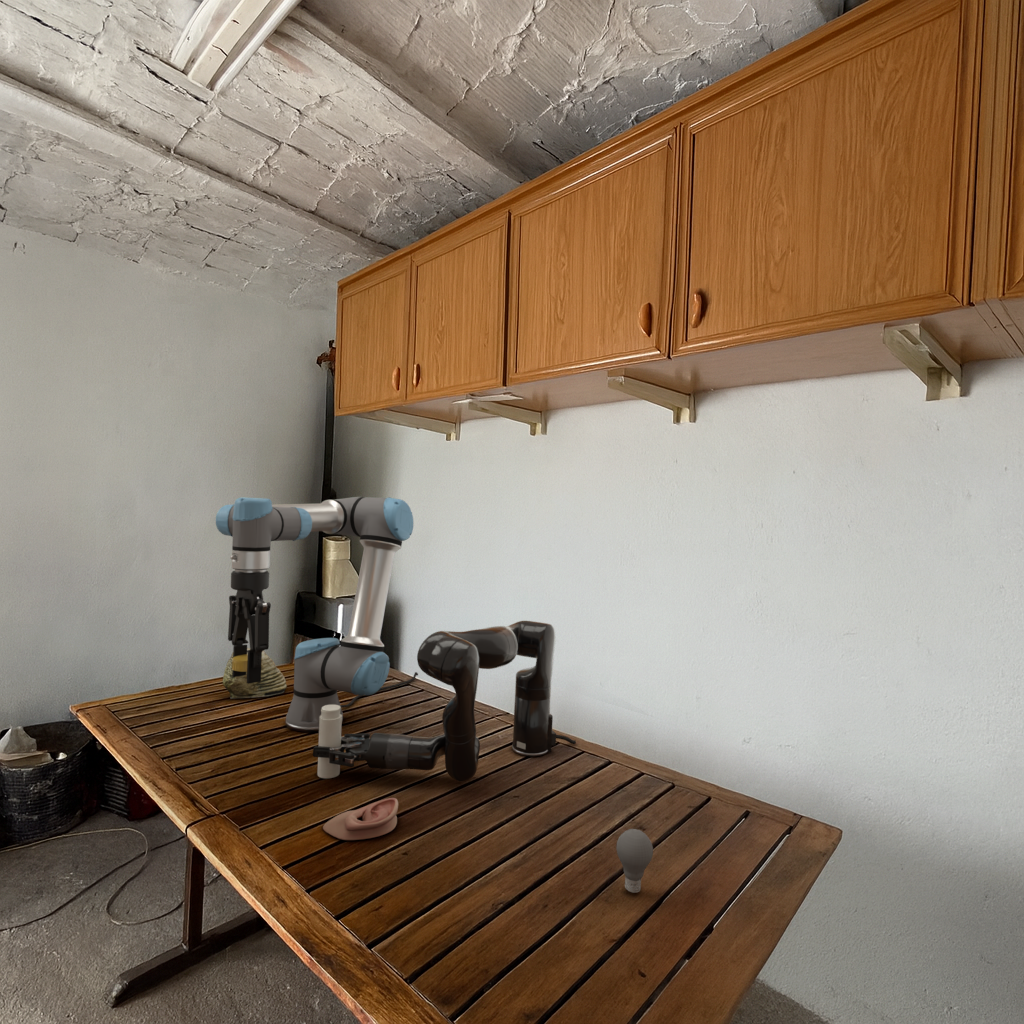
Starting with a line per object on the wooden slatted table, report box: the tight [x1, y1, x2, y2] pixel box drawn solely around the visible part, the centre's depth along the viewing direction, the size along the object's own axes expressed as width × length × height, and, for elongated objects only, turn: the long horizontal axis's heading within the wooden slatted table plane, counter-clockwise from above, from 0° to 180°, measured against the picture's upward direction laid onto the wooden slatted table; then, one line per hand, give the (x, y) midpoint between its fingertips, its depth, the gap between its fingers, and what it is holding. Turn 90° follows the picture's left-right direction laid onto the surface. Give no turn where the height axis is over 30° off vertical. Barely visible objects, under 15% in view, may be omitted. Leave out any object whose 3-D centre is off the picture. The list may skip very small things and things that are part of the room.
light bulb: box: [615, 828, 654, 894], centre depth 106 cm, size 6×6×10 cm
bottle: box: [316, 705, 343, 779], centre depth 145 cm, size 5×5×15 cm
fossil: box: [222, 647, 288, 699], centre depth 198 cm, size 9×18×15 cm, turn 132°
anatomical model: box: [322, 797, 399, 841], centre depth 122 cm, size 13×4×12 cm
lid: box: [232, 654, 262, 672], centre depth 135 cm, size 6×6×2 cm
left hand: (246, 678), depth 135 cm, fingers closed on lid, 6 cm apart
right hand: (318, 746), depth 145 cm, fingers closed on bottle, 5 cm apart
